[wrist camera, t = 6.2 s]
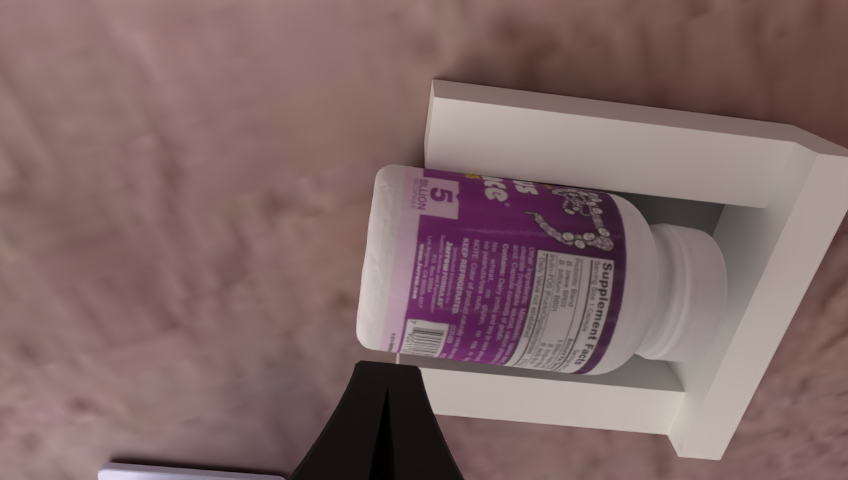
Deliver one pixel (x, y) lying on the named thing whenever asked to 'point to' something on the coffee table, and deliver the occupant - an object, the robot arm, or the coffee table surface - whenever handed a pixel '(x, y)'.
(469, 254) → the pill bottle
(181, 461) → the coffee table surface
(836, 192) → the cradle
